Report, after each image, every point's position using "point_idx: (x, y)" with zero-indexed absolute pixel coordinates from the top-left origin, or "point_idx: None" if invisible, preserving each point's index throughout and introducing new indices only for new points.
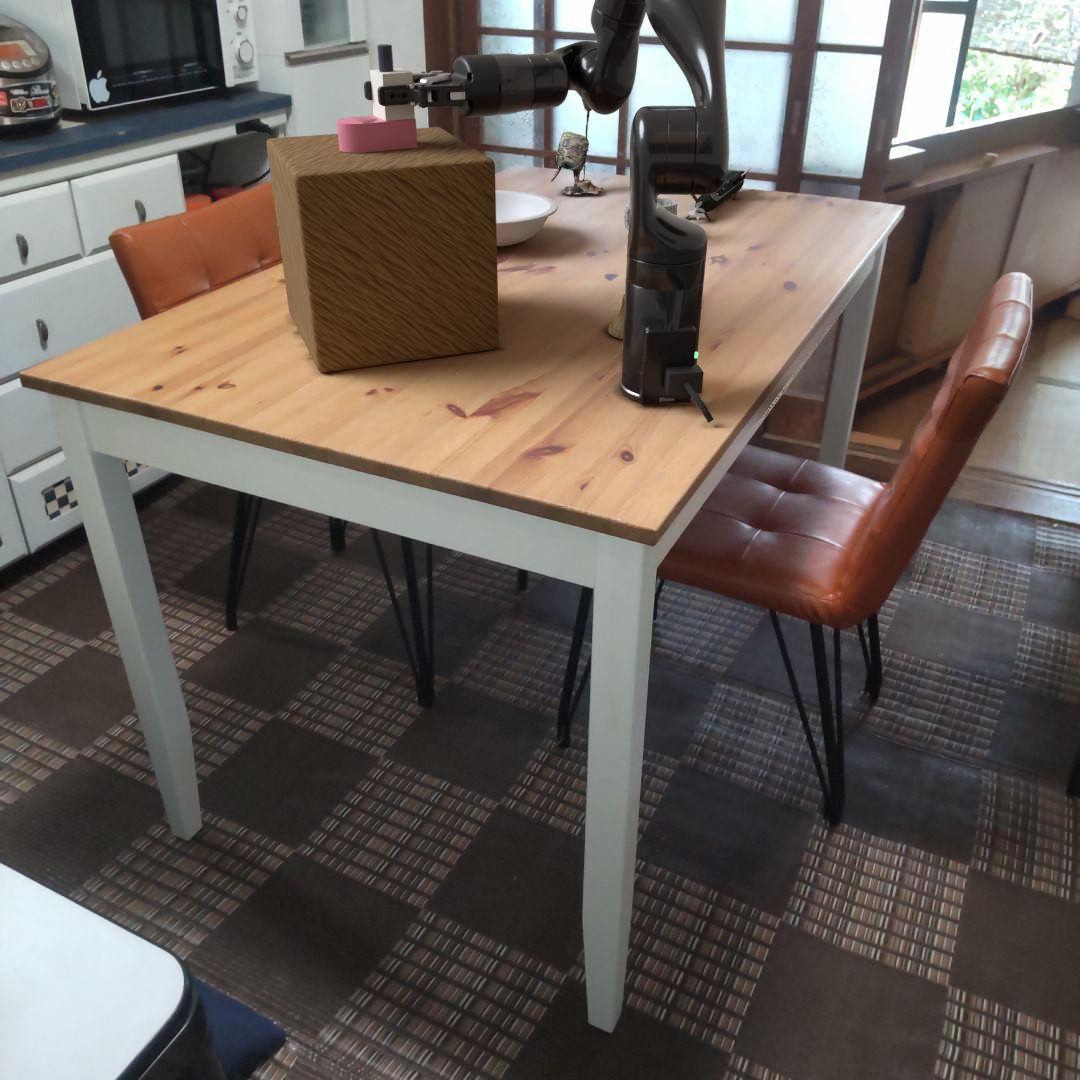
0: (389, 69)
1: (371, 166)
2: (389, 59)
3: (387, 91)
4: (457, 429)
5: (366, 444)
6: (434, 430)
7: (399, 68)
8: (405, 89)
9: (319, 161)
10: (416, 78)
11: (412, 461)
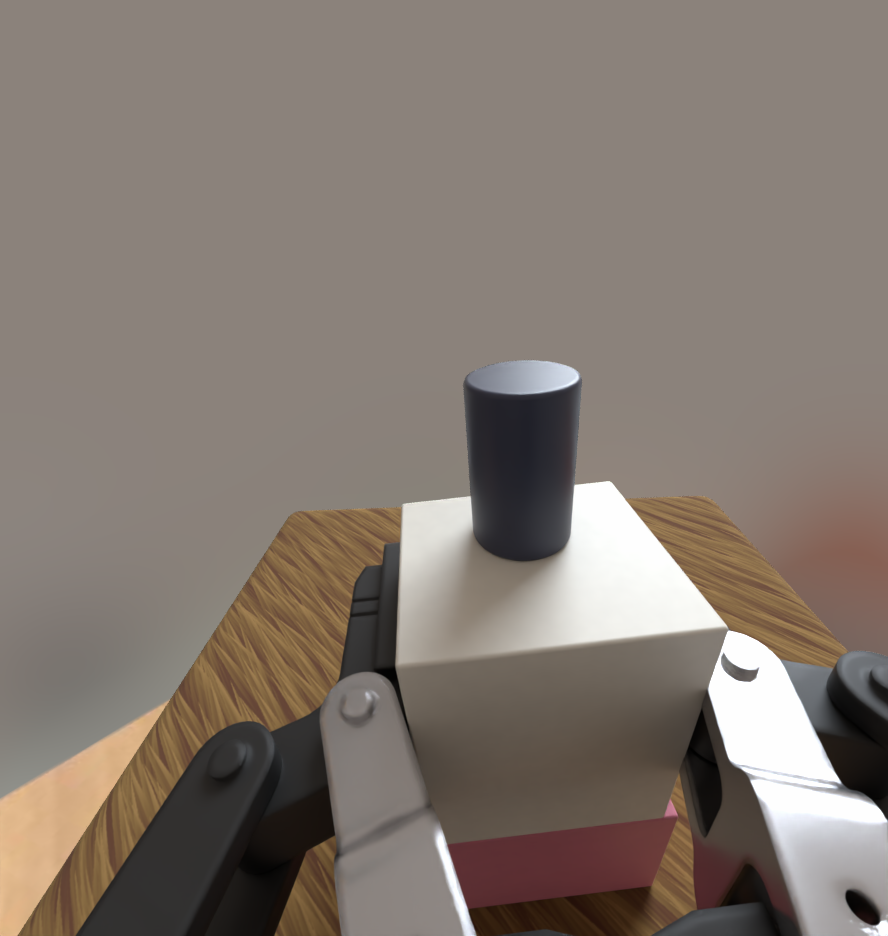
0: (474, 526)
1: (237, 633)
2: (469, 475)
3: (361, 576)
4: (19, 910)
5: (126, 748)
6: (58, 863)
7: (680, 622)
8: (357, 667)
9: (381, 547)
10: (764, 872)
11: (31, 794)
